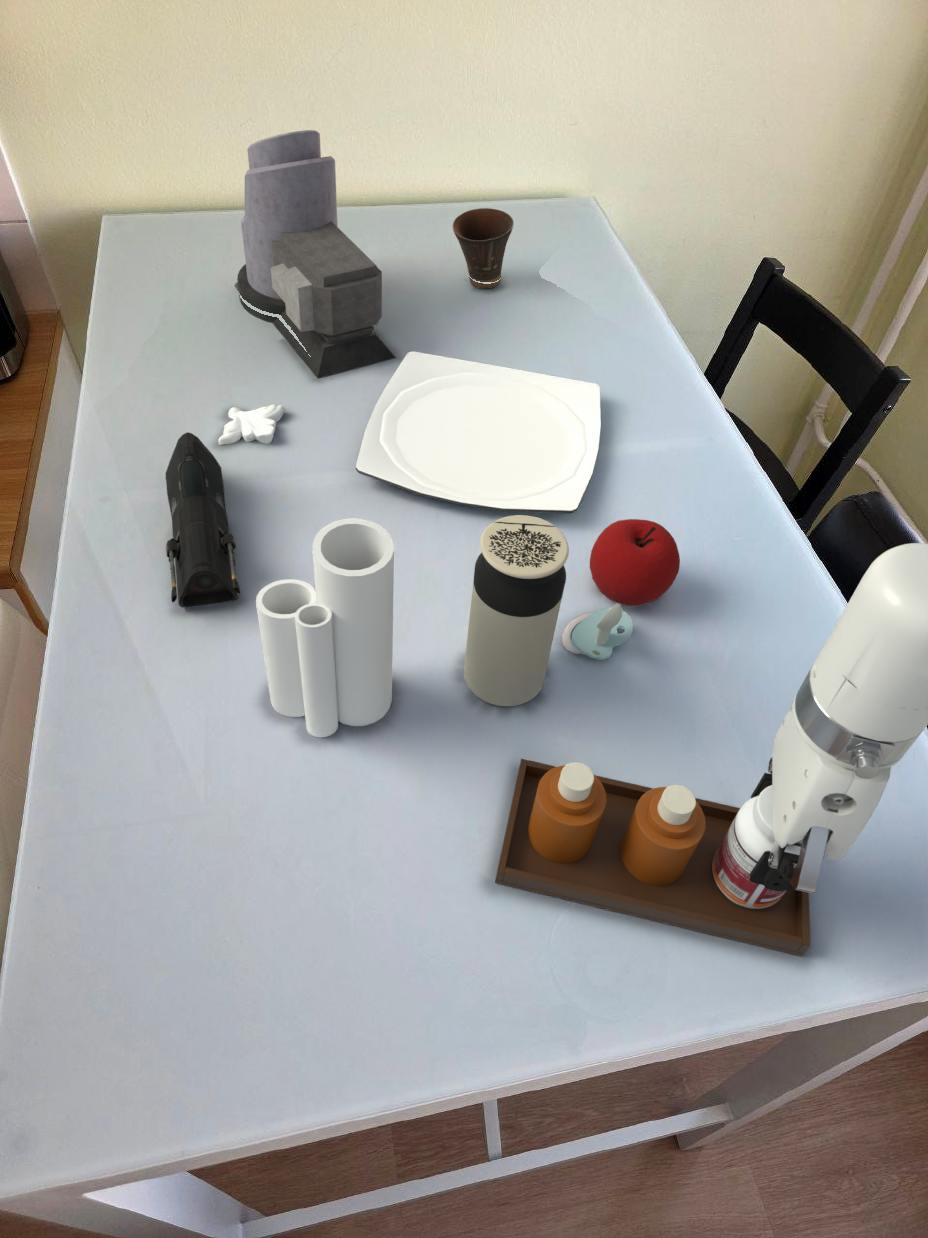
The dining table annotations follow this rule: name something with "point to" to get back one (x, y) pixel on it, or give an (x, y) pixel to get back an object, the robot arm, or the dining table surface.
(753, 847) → the pill bottle
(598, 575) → the apple
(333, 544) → the vase
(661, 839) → the amber bottle middle
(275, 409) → the acanthus leaf ornament
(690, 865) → the tray
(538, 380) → the plate
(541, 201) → the dining table surface
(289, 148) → the juicer
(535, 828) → the amber bottle far
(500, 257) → the cup
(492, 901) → the dining table surface
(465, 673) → the travel mug
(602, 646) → the pacifier
